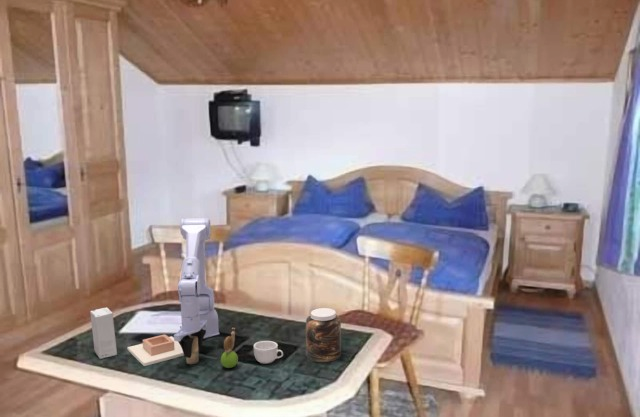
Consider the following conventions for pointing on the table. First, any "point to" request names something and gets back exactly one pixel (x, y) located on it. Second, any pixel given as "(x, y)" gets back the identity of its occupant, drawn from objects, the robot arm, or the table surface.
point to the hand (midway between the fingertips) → (192, 354)
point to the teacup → (266, 351)
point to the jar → (323, 335)
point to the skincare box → (103, 332)
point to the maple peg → (193, 352)
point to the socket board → (156, 350)
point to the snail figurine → (229, 352)
